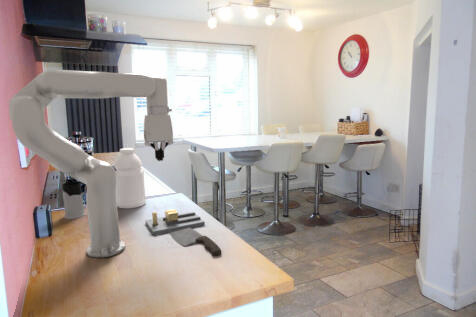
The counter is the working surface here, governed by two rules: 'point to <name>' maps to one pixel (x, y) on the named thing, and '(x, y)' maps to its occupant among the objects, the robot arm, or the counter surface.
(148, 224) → the bolt plate
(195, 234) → the cleaver
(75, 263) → the counter surface
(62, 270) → the counter surface
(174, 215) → the cardboard box
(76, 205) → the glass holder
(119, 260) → the counter surface
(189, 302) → the counter surface
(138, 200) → the bottle
